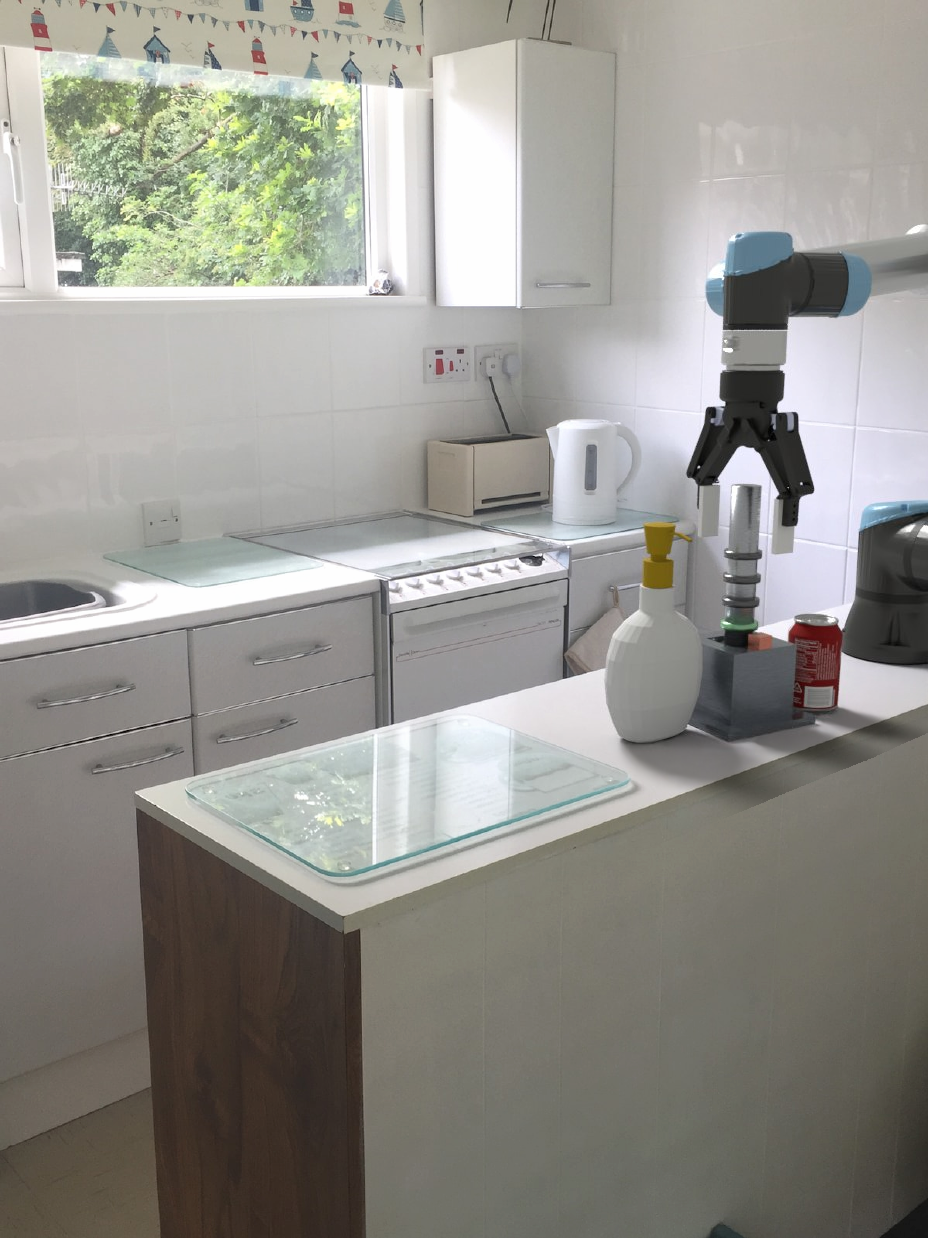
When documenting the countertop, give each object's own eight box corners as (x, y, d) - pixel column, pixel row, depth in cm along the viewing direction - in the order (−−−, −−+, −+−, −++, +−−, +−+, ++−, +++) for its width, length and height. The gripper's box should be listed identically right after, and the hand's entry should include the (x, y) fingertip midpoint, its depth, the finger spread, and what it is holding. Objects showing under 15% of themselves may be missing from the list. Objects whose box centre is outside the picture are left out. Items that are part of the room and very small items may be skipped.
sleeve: (739, 694, 163) (744, 610, 160) (815, 723, 151) (821, 633, 148) (656, 709, 157) (659, 623, 154) (728, 741, 145) (733, 647, 142)
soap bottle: (639, 758, 139) (646, 534, 133) (585, 738, 146) (590, 524, 140) (722, 734, 147) (733, 522, 141) (668, 715, 154) (676, 513, 148)
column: (739, 643, 155) (748, 482, 150) (764, 651, 151) (774, 486, 146) (711, 648, 153) (719, 484, 148) (736, 656, 149) (744, 489, 144)
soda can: (839, 717, 153) (846, 625, 151) (784, 714, 155) (790, 623, 152) (834, 701, 160) (841, 613, 157) (782, 698, 161) (787, 611, 158)
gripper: (662, 365, 153) (656, 532, 158) (804, 371, 131) (792, 564, 136) (709, 364, 156) (702, 527, 161) (854, 370, 135) (841, 558, 140)
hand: (743, 544), depth 149 cm, fingers open, 13 cm apart
